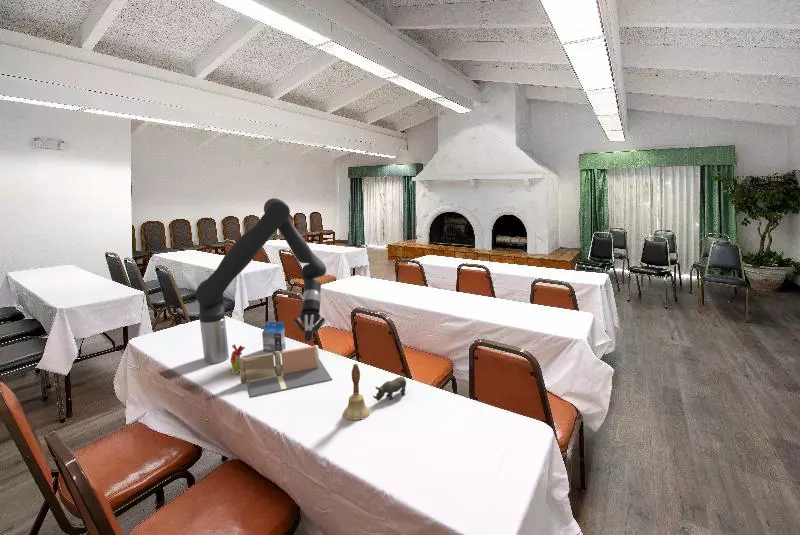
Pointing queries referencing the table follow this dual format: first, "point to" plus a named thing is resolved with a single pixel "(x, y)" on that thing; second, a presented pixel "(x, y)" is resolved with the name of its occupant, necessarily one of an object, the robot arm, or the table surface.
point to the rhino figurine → (391, 388)
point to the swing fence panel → (300, 359)
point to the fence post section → (259, 366)
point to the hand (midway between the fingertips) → (308, 340)
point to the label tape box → (274, 337)
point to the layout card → (288, 380)
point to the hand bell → (356, 399)
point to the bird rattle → (236, 358)
